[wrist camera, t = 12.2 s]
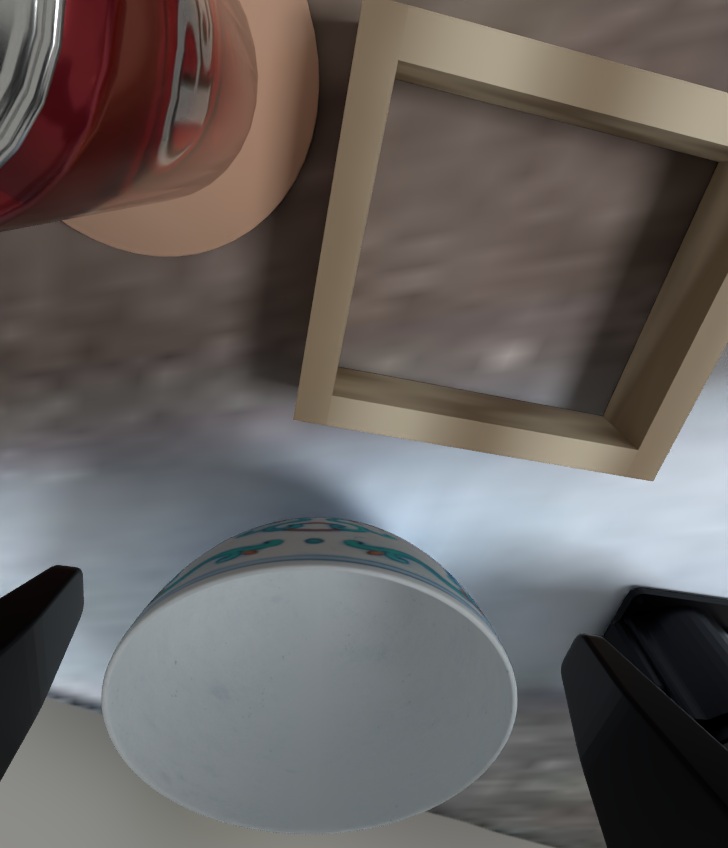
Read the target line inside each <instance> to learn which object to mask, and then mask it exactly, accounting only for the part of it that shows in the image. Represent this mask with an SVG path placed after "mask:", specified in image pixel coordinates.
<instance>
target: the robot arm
mask: <svg viewBox="0 0 728 848" xmlns="http://www.w3.org/2000/svg"><path fill="white" fill-rule="evenodd" d="M83 606H84V596H83V574H82V571H81V569H79V568H77V567H70V566H62V565H55V566H53V567H50V568H49V569H47V570H45V571H44V572H42V573H41V574H39V575H37V576H36V577H34V578H32V579H31V580H29V581H28V582H26V583H24V584H23V585H21V586H19V587H18V588H16V589H15V590H13V591H11V592H10V593H8V594H6V595H5V596H3V597H2V598H0V781H1V779H2V777H3V776H4V774H5V772H6V770H7V768H8V767H9V765H10V763H11V761H12V759H13V758H14V756H15V754H16V752H17V751H18V749H19V747H20V745H21V744H22V742H23V740H24V738H25V736H26V734H27V733H28V731H29V729H30V728H31V726H32V724H33V722H34V720H35V718H36V716H37V715H38V712H39V711H40V709H41V707H42V705H43V703H44V700H45V698H46V696H47V694H48V692H49V689H50V687H51V685H52V682H53V680H54V678H55V675H56V673H57V671H58V669H59V666H60V664H61V662H62V659H63V657H64V655H65V652H66V650H67V648H68V645H69V643H70V641H71V638H72V636H73V634H74V631H75V629H76V627H77V625H78V622H79V620H80V617H81V615H82V611H83ZM561 675H562V680H563V685H564V690H565V694H566V699H567V704H568V708H569V713H570V718H571V722H572V727H573V732H574V736H575V741H576V746H577V750H578V754H579V758H580V762H581V765H582V768H583V772H584V775H585V779H586V782H587V785H588V788H589V791H590V794H591V798H592V801H593V804H594V807H595V810H596V814H597V817H598V820H599V823H600V826H601V830H602V833H603V836H604V839H605V842H606V846H607V848H728V600H722V599H715V598H708V597H701V596H694V595H687V594H680V593H673V592H666V591H659V590H653V589H646V588H635V589H633V590H631V591H630V592H629V593H628V594H627V596H626V598H625V600H624V601H623V603H622V605H621V607H620V608H619V610H618V612H617V614H616V615H615V617H614V619H613V621H612V622H611V624H610V626H609V628H608V629H607V631H606V633H605V634H604V636H603V637H601V636H598V635H591V634H579V635H578V636H576V638H575V640H574V641H573V643H572V645H571V647H570V649H569V651H568V652H567V654H566V656H565V658H564V660H563V662H562V666H561Z"/></svg>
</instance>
